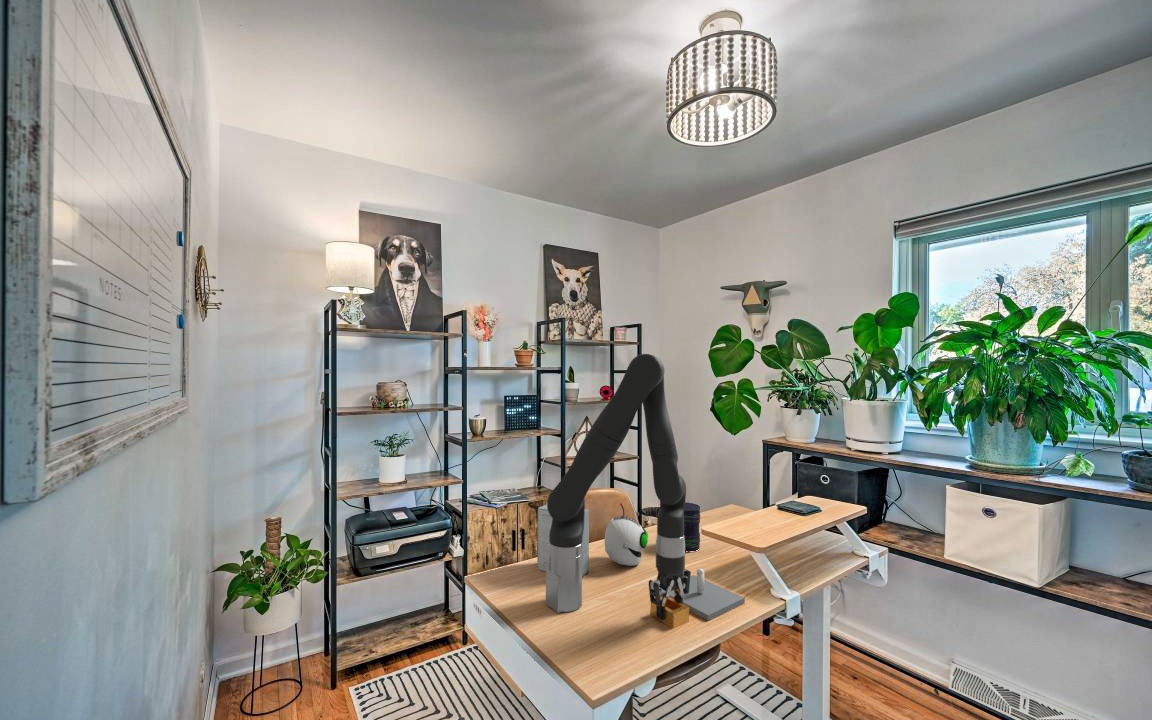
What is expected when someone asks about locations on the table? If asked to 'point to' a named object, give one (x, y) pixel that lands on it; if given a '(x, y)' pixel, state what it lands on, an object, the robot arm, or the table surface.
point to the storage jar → (691, 526)
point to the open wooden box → (673, 612)
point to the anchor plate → (708, 598)
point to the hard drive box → (543, 540)
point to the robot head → (625, 540)
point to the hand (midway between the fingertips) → (669, 614)
